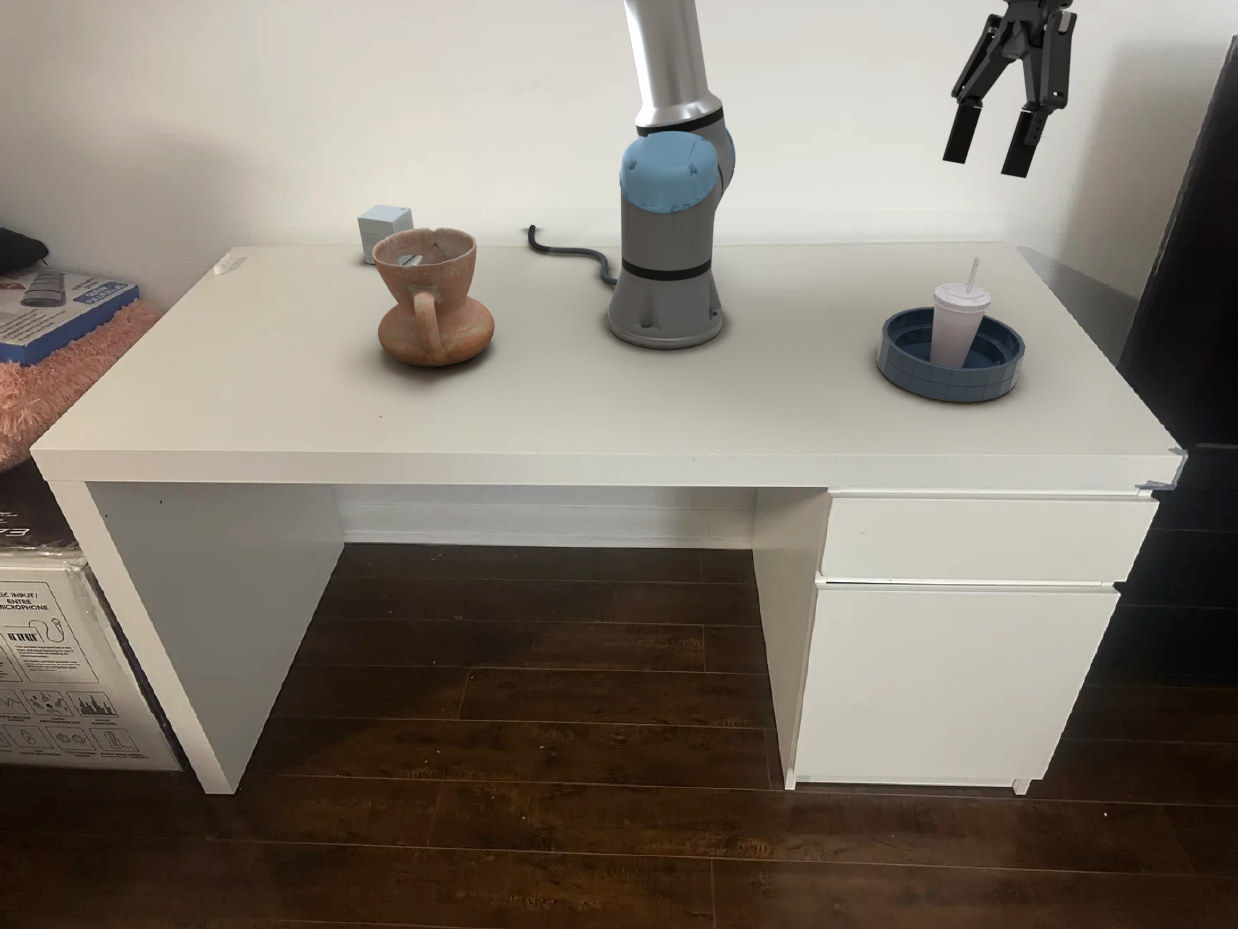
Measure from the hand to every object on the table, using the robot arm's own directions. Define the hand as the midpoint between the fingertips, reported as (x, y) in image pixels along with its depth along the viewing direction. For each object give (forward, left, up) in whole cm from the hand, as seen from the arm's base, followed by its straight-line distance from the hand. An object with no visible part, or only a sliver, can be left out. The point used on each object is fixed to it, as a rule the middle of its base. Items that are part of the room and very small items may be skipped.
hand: (981, 169), depth 102 cm
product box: (-52, -64, -21) cm, 85 cm away
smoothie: (+8, -6, -21) cm, 23 cm away
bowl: (+8, -6, -21) cm, 24 cm away
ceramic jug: (-19, -63, -21) cm, 69 cm away
